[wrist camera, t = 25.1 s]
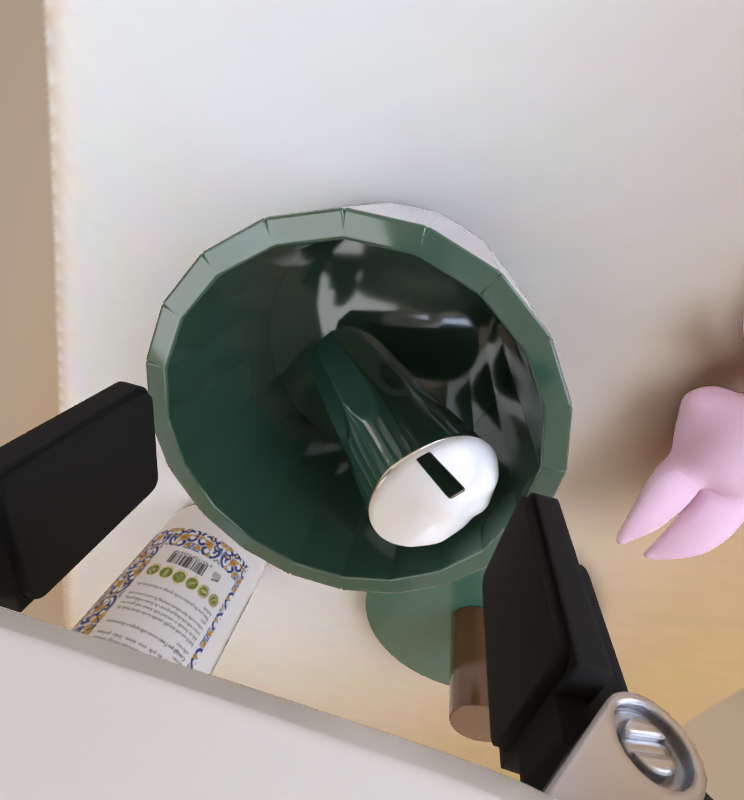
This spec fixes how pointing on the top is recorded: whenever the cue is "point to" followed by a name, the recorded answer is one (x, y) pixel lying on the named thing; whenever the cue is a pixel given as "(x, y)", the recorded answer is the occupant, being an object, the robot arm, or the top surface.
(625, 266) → the top surface
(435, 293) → the pot
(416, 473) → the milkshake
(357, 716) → the top surface
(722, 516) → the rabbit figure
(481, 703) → the pot lid
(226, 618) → the bath foam
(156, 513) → the top surface
